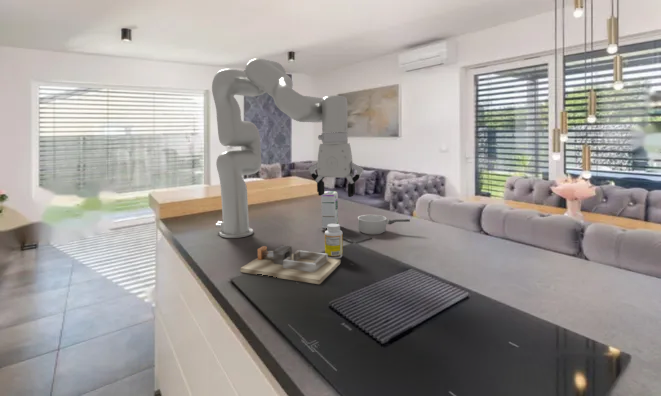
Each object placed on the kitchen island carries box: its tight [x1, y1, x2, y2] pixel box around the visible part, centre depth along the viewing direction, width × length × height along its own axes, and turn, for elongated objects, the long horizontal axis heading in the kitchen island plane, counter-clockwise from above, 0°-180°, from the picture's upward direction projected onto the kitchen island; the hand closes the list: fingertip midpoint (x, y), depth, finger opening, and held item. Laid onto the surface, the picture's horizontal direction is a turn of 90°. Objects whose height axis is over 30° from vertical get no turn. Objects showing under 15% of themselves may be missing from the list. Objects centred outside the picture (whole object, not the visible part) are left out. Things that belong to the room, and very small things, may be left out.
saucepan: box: [357, 214, 411, 235], centre depth 142 cm, size 12×20×6 cm, turn 78°
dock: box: [240, 244, 341, 285], centre depth 106 cm, size 24×16×5 cm, turn 69°
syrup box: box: [320, 190, 339, 229], centre depth 149 cm, size 6×6×14 cm
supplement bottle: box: [324, 223, 344, 259], centre depth 114 cm, size 6×6×10 cm
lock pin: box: [257, 245, 286, 260], centre depth 109 cm, size 8×3×3 cm, turn 69°
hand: (335, 195), depth 112 cm, fingers open, 9 cm apart
